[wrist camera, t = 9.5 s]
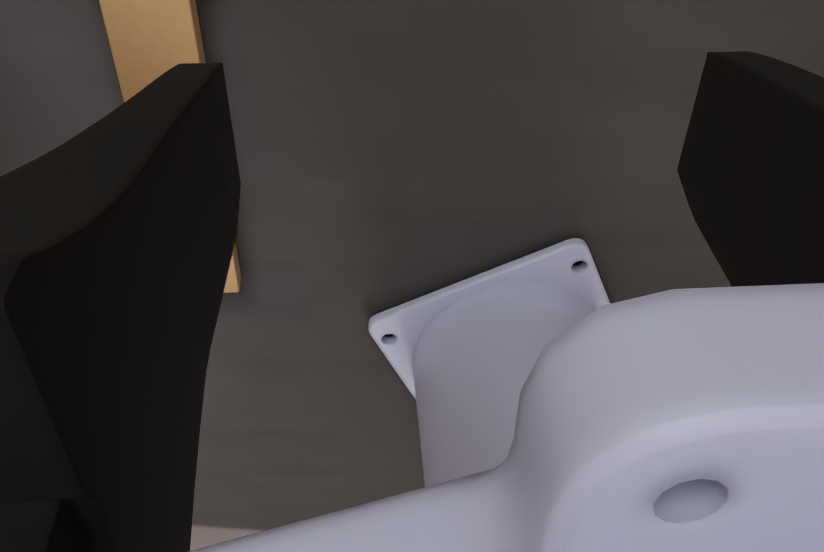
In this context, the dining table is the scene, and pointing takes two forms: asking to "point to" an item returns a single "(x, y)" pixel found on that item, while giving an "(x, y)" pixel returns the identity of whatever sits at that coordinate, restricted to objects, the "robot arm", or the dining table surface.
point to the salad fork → (156, 54)
